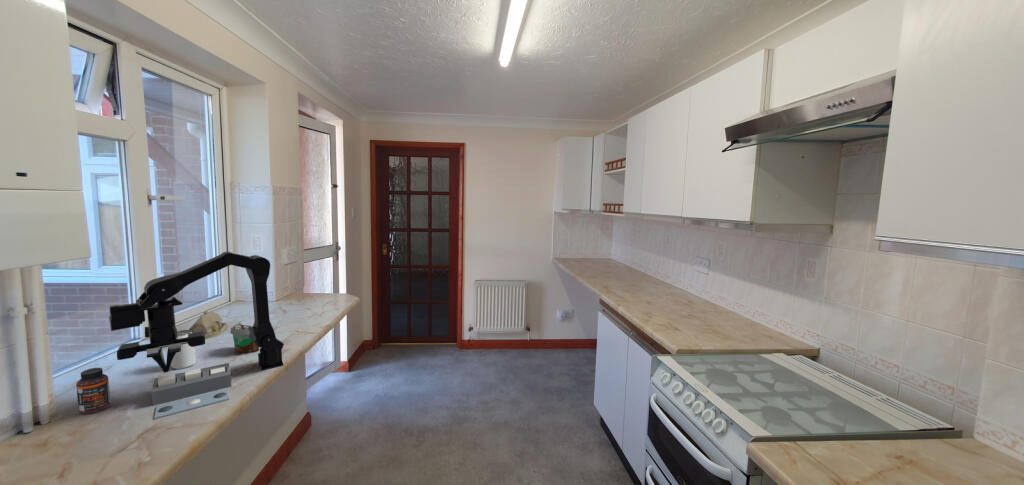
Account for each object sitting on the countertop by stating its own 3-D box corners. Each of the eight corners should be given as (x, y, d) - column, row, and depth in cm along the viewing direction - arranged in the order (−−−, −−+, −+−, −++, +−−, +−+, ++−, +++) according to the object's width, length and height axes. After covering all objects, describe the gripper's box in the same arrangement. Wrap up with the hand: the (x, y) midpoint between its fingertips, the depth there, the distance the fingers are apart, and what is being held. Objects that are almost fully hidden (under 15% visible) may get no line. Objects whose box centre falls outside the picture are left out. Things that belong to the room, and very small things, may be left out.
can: (181, 370, 126) (178, 337, 124) (166, 368, 127) (163, 335, 125) (200, 362, 132) (198, 330, 130) (186, 360, 133) (183, 328, 132)
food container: (224, 351, 141) (222, 326, 140) (240, 345, 147) (239, 321, 146) (244, 357, 137) (243, 331, 136) (261, 351, 142) (260, 326, 141)
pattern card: (227, 389, 115) (227, 388, 114) (229, 399, 109) (229, 398, 109) (156, 407, 104) (156, 405, 104) (154, 419, 99) (154, 417, 99)
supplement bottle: (81, 417, 99) (76, 378, 97) (76, 410, 102) (72, 371, 100) (113, 407, 104) (109, 369, 102) (108, 400, 107) (104, 363, 105)
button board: (229, 374, 124) (228, 362, 124) (231, 386, 117) (230, 374, 116) (155, 390, 113) (154, 378, 112) (152, 405, 105) (151, 392, 105)
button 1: (175, 379, 113) (175, 373, 113) (174, 384, 110) (174, 378, 110) (159, 383, 111) (158, 376, 110) (158, 388, 108) (157, 381, 108)
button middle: (201, 373, 117) (200, 368, 117) (201, 378, 114) (200, 372, 114) (185, 377, 114) (185, 371, 114) (185, 381, 112) (185, 375, 112)
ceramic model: (208, 340, 151) (207, 317, 150) (180, 340, 151) (178, 316, 150) (233, 328, 165) (231, 306, 164) (207, 328, 165) (205, 306, 164)
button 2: (225, 372, 121) (224, 366, 121) (225, 376, 118) (225, 370, 118) (211, 375, 118) (210, 369, 118) (211, 380, 116) (210, 374, 116)
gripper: (203, 309, 120) (206, 354, 122) (120, 320, 108) (125, 370, 110) (203, 318, 112) (207, 367, 114) (113, 331, 100) (119, 385, 102)
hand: (166, 371), depth 110 cm, fingers closed
